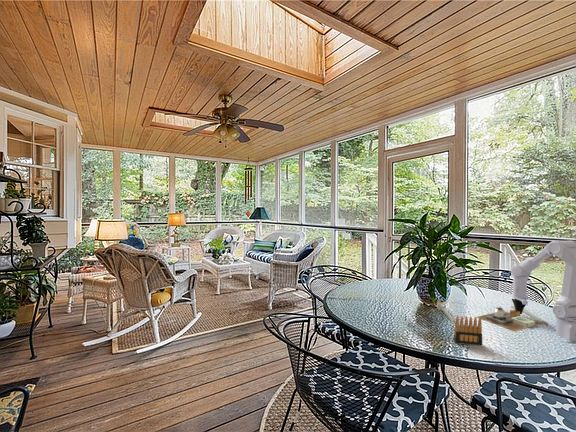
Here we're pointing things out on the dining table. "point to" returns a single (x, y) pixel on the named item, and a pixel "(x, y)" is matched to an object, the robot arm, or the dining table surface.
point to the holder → (505, 322)
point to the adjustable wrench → (533, 316)
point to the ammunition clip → (468, 331)
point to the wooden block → (512, 314)
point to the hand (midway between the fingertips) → (518, 313)
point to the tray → (523, 321)
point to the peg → (499, 313)
